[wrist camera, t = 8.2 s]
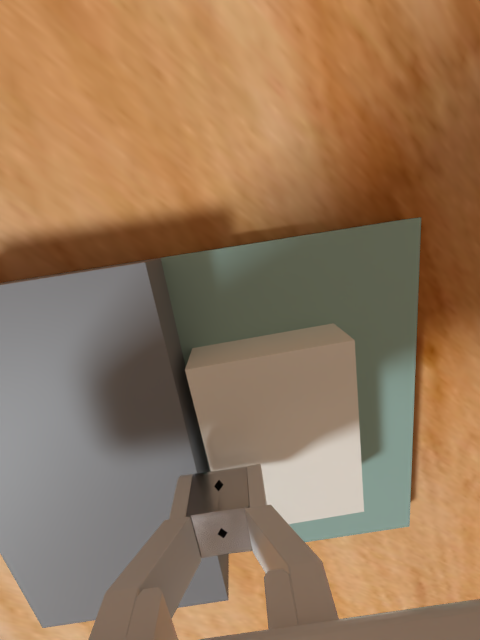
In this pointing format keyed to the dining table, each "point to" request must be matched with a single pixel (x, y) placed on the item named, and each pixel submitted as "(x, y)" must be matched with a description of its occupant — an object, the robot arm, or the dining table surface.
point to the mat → (315, 310)
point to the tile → (285, 417)
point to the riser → (92, 434)
